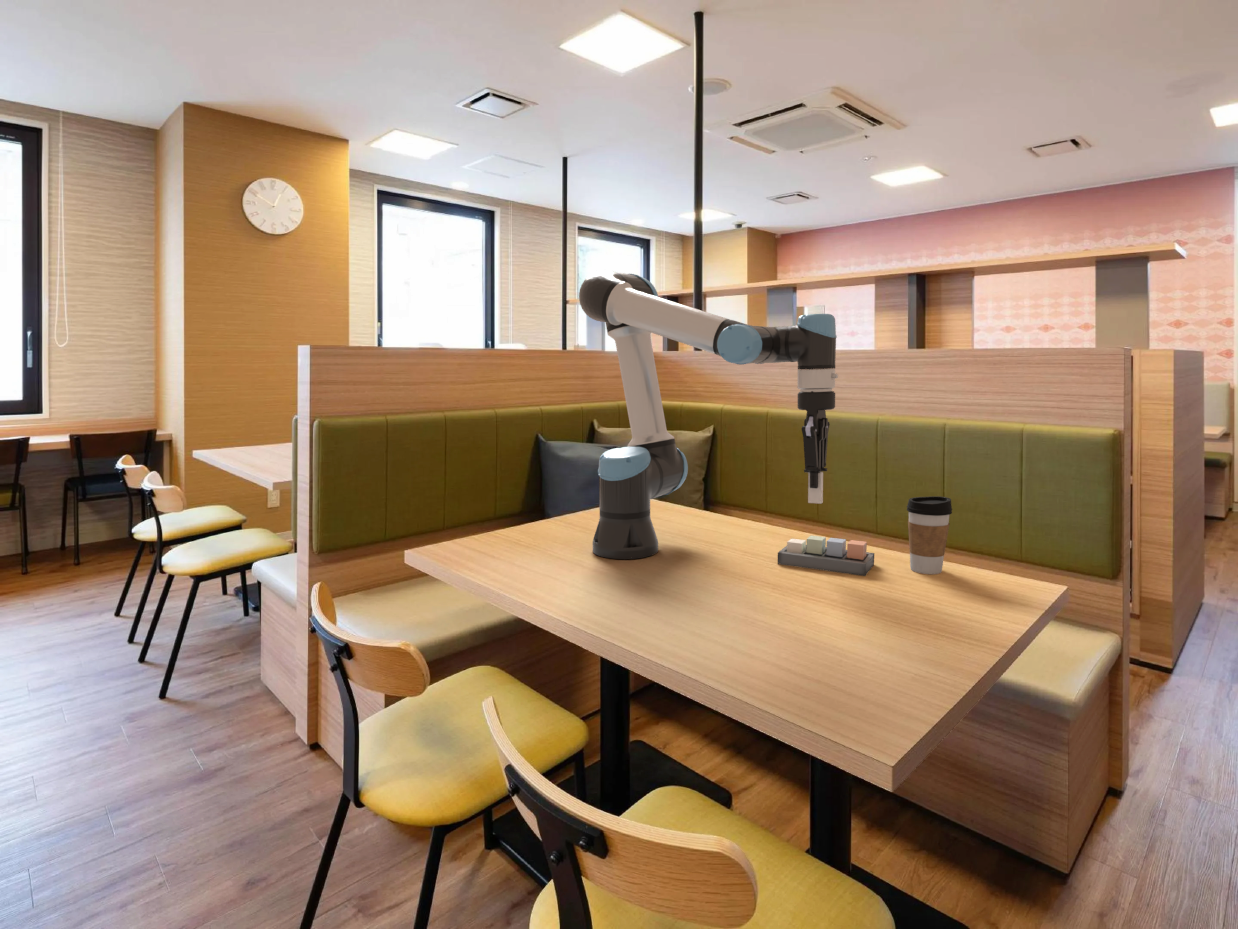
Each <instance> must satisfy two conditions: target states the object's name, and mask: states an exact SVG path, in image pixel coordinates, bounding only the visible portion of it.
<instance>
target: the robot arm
mask: <svg viewBox="0 0 1238 929" xmlns="http://www.w3.org/2000/svg"><path fill="white" fill-rule="evenodd" d="M578 299H579V305H580V307H581V309H582V311H583V312H584V314H585V315H586V316H587V317H588V318H590V319H592V320H594V321H596V322H603V323H605V327H606V328H605V329H606V332H607V336H609V337H610V338H611V339H613V340H614V343H615V347H616V353H617V359H618V365H619V371H620V376H621V381H622V382H621V383H622V386H623V393H624V399H625V403H626V404H625V405H626V410H627V416H628V420H629V421H628V422H629V428H630V432H631V440H630V441H629V443H627V446H622V447H616V448H615V447H614V448H611V449H608V450H606V451H604V452H603V453H602V454H601V455H600V456H599V460H598V469H597V474H598V493H599V494H598V495H599V496H598V500H599V501H598V502H599V504H598V505H599V506H598V507H599V519H598V523H597V526H596V529H595V532H594V534H593V535H594V536H593V539H592V552H593V554H595V555H596V556H598V557H602V558H606V559H612V560H613V559H614V560H633V559H634V560H635V559H642V558H648V557H651V556H653V555H656V554H657V553H658V551H659V540H658V536H657V534H656V530H655V528H654V524H653V522H652V518H651V500H652V499H655V498H658V497H661V496H667V495H670V494H672V493H673V492H674V491H676V490H678V489H680V488H681V487H682V485H683V484H684V482H685V480H686V479H687V477H688V473H689V472H688V471H689V465H688V460H687V458H686V455H685V454H684V452H683V451H681V450H680V448H678V447H677V444H676V440H675V436H674V435H672V434H671V433H669V432H668V430H667V429H668V428H667V424H666V418H665V413H664V407H663V406H664V405H663V400H662V394H661V391H660V390H661V389H660V383H659V380H658V379H659V378H658V373H657V367H656V362H655V356H654V349H653V344H652V338H651V333H652V334H655V335H657V336H660V337H664V338H666V339H669V340H673V341H675V342H679V343H681V344H683V345H687V346H690V347H693V348H696V349H699V350H702V351H705V352H708V353H711V354H714V355H717V356H720V357H721V358H722V359H723V360H725V361H726V362H728V363H730V364H735V365H747V364H757V365H759V364H760V365H763V364H775V363H776V364H777V363H796V362H797V382H796V383H797V385H796V386H797V387H796V388H797V389H798V390H799V391H798V393H797V409H798V410H799V411H806V416H805V418H804V419H803V420H804V422H803V426H801V432H802V433H801V434H802V438H803V439H802V440H803V453H804V454H803V455H804V469H803V472H804V473H807V475H808V476H807V477H808V478H807V480H808V481H807V482H808V483H807V485H808V486H807V492H808V493H807V503H808V504H823V502H824V492H823V491H824V472H828V467H826V466H827V456H828V455H827V452H828V443H829V442H828V438H829V430H830V421H829V418H828V417H827V415H826V414H827V413H826V411H830V410H834V409H835V408H836V392H835V391H833V390H832V389H834V388H836V379H838V378H839V374H838V373H836V355H837V354H836V350H837V349H836V348H837V338H838V337H837V336H838V335H837V329H836V327H837V326H836V318H835V316H834V315H832V314H830V313H810V314H809V313H808V314H802V315H799V316H798V318H797V323H796V324H795V325H790V326H789V325H788V326H785V325H784V326H764V325H763V326H760V325H752V324H747V323H743V322H741V321H737V320H734V319H730V318H727V317H723V316H720V315H718V314H717V315H716V314H713V313H710V312H707V311H703V310H700V309H698V308H695V307H691V306H688V305H685V304H681V303H678V302H676V301H672V300H668V299H665V298H662V297H659V295H658V292H657V289H656V287H655V286H654V284H652V282H651V281H650V280H648V279H647V278H645V277H643V276H640V275H638V274H634V273H625V272H618V271H617V272H616V271H613V270H606V269H604V270H598V271H597V270H596V271H595V272H593V273H591V274H589V275H588V276H586V278H584V280H583V281H582V284H581V285H580V288H579V292H578Z"/></svg>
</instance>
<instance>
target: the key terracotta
mask: <svg viewBox="0 0 1238 929" xmlns="http://www.w3.org/2000/svg"><path fill="white" fill-rule="evenodd" d="M867 544H868V542H867V541H863V540H862V541H861V540H853V539H850V540H849V541H848V542H847V543H846V547H847V548H846V550H847V558H853V559H861V560H863V559H864V558H865V557H866V552H867V551H868V550H867V548H868V547H867Z"/></svg>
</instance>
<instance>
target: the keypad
mask: <svg viewBox="0 0 1238 929" xmlns="http://www.w3.org/2000/svg"><path fill="white" fill-rule="evenodd" d="M806 548H807V544H806ZM826 551H827V546H826V548H825V552H824V553H823V554H814V553H806V550H805V551H804V552H803V553H801V554H799V553H791V552H787V545H785V546H784V547H783V548H782V549H780V550H779V551H778V552H777V565H782V566H790V567H797V568H804V569H811V570H819V571H824V572H825V571H826V572H833V573H840V574H847V575H854V576H862V577H866V575H867V574H868V573H869V572H870V571H871V569H872V568H873V567H874V565H875V553H874V552H868V551H866V557H865V558H864V559H863V560H861V559H853V558H847V549H846V553H845V554H844V555H843V557H838V556H830V555H826Z"/></svg>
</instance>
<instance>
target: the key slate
mask: <svg viewBox="0 0 1238 929" xmlns="http://www.w3.org/2000/svg"><path fill="white" fill-rule="evenodd" d="M826 547H827V551H826V555H830V556H838V557H843V555H844V554H845V553H846V550H847V548H846V547H847V539H845V538H838V537H837V538H836V537H829V538H828V539H827V540H826Z"/></svg>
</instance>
